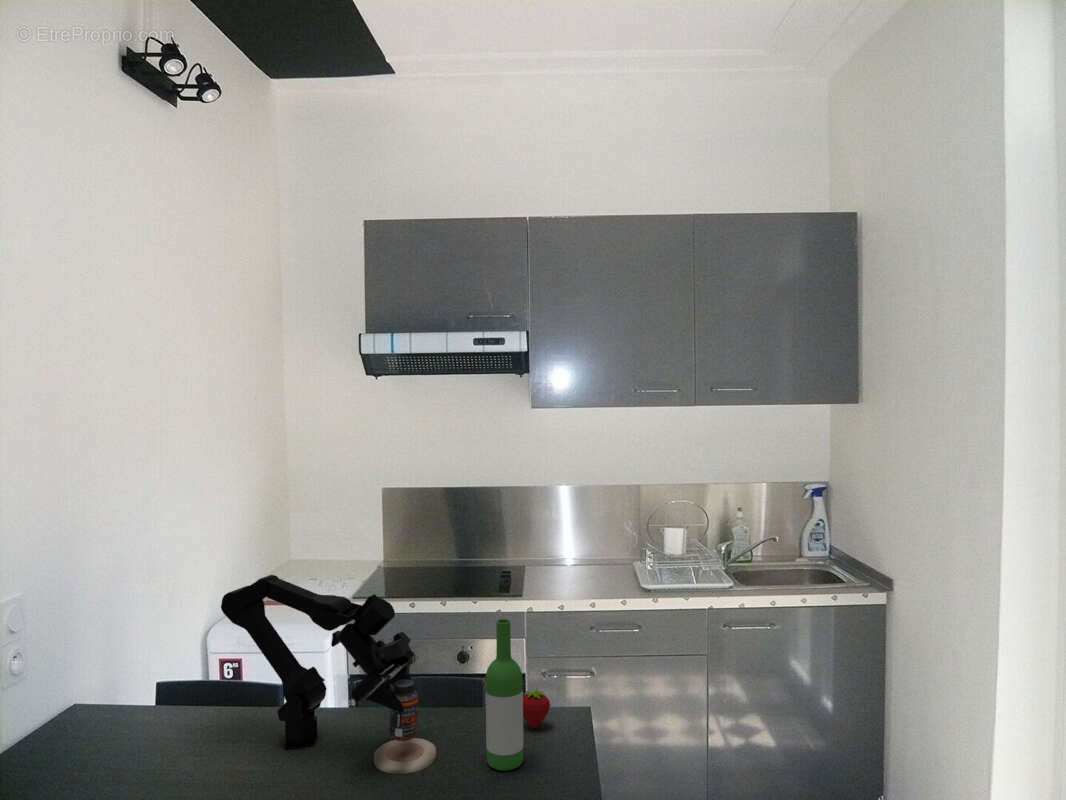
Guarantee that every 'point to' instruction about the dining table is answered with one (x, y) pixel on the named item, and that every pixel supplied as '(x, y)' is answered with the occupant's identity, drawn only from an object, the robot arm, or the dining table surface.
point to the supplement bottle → (405, 712)
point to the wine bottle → (504, 705)
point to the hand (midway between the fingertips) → (409, 705)
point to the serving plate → (404, 756)
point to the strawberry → (535, 707)
